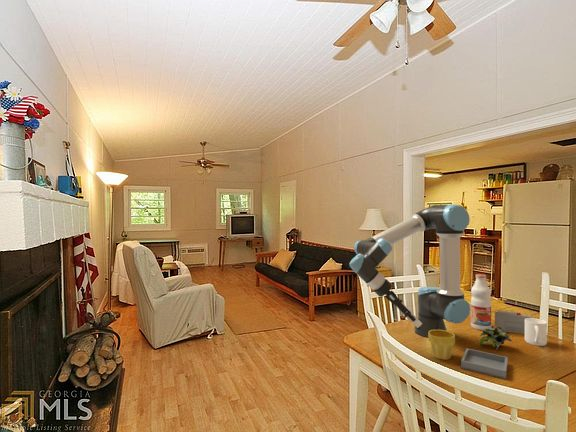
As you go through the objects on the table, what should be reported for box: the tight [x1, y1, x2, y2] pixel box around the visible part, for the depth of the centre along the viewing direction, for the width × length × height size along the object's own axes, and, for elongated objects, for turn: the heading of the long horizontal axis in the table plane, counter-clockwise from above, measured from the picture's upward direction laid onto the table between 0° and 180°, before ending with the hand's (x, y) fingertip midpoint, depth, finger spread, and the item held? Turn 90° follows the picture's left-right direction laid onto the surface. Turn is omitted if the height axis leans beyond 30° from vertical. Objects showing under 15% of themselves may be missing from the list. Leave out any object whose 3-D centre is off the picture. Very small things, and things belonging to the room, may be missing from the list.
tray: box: [460, 347, 509, 380], centre depth 130 cm, size 15×15×3 cm
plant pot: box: [427, 330, 456, 360], centre depth 139 cm, size 10×10×10 cm
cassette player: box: [494, 310, 534, 335], centre depth 167 cm, size 16×3×10 cm, turn 63°
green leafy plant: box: [478, 325, 513, 351], centre depth 148 cm, size 11×11×12 cm
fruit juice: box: [470, 273, 492, 331], centre depth 173 cm, size 9×9×28 cm
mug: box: [524, 317, 548, 347], centre depth 151 cm, size 12×8×10 cm
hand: (415, 320), depth 140 cm, fingers open, 13 cm apart
